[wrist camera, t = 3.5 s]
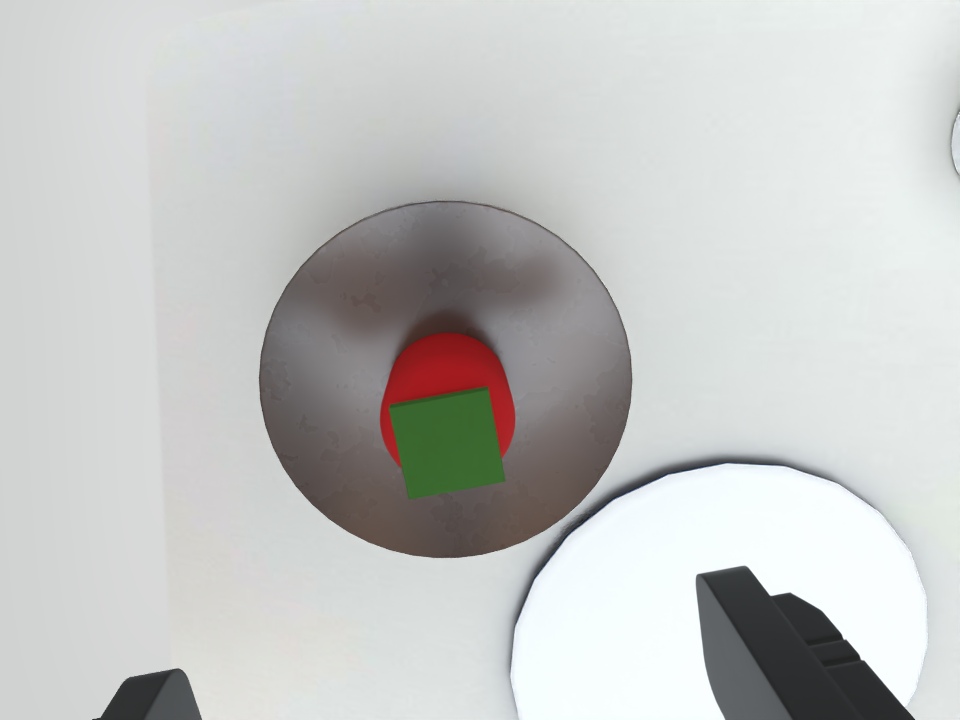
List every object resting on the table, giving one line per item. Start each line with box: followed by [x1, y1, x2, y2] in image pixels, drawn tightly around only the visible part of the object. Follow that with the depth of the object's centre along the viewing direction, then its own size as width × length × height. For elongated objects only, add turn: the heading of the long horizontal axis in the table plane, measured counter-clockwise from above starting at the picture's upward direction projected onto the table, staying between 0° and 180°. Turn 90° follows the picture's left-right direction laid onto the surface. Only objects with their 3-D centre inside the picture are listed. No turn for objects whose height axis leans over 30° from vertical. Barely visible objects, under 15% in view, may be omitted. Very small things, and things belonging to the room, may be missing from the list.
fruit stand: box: [259, 200, 632, 558], centre depth 31 cm, size 13×13×13 cm
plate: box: [510, 462, 928, 720], centre depth 43 cm, size 25×25×1 cm
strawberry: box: [380, 333, 515, 499], centre depth 23 cm, size 4×4×5 cm
